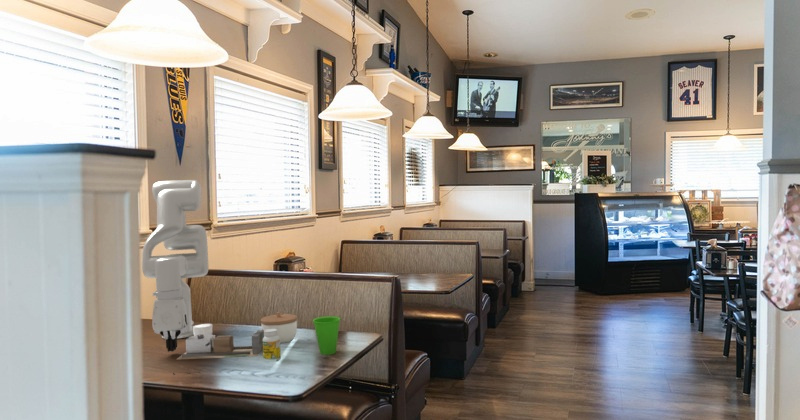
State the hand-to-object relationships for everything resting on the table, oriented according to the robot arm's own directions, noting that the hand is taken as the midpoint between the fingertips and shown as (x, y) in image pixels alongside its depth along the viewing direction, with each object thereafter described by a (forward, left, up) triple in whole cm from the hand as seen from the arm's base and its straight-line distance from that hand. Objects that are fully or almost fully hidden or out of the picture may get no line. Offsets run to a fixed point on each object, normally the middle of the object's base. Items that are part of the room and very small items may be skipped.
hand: (171, 350), depth 184 cm
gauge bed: (0, +17, -3) cm, 17 cm away
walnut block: (0, +17, -1) cm, 17 cm away
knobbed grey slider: (+1, +10, -1) cm, 10 cm away
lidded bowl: (-14, +33, -3) cm, 36 cm away
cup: (+1, +52, -3) cm, 52 cm away
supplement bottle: (+7, +35, -3) cm, 35 cm away
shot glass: (-16, +5, -3) cm, 17 cm away
